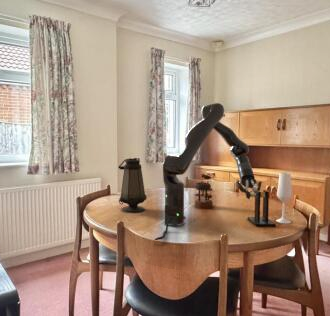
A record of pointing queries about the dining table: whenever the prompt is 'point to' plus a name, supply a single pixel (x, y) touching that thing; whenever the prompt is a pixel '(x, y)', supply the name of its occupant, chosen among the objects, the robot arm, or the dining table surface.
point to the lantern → (132, 186)
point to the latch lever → (262, 194)
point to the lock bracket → (263, 220)
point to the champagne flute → (284, 193)
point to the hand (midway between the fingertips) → (252, 198)
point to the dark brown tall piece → (203, 187)
